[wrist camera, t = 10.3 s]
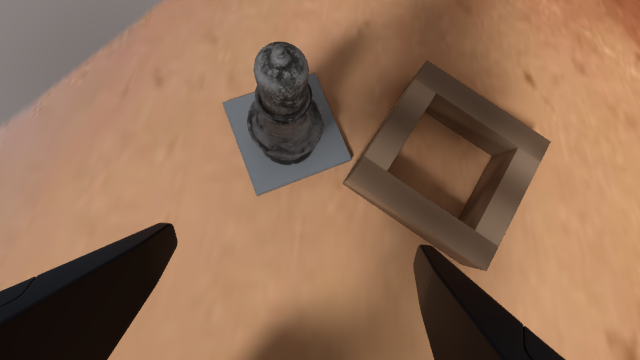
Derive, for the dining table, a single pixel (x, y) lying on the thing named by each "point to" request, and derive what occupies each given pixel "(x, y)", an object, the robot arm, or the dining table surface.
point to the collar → (491, 191)
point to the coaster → (276, 175)
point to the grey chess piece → (284, 106)
